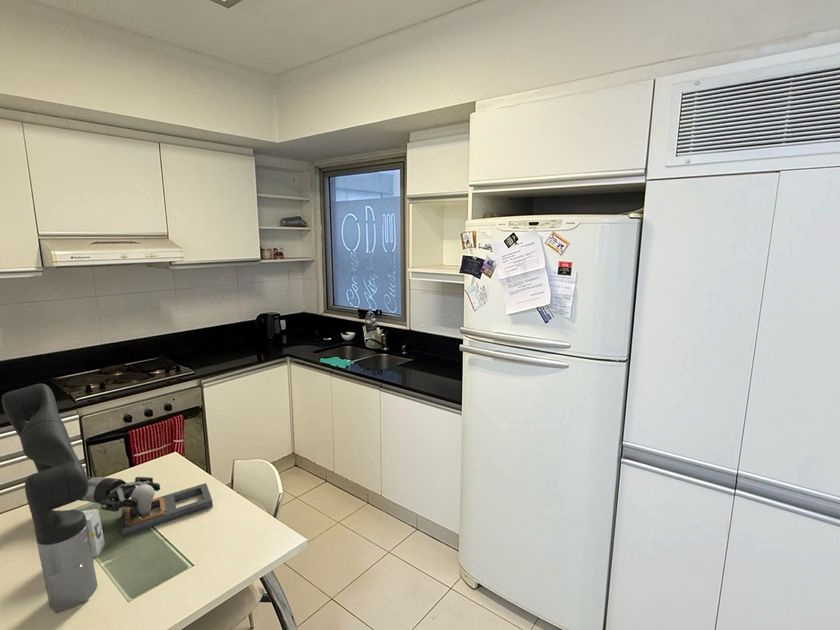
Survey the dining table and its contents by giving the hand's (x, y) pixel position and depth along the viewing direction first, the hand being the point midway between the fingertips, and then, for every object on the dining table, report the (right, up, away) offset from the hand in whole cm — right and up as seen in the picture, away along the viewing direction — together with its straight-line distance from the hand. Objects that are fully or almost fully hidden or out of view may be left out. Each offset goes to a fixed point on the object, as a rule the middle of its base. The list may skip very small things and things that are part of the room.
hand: (148, 495), depth 131 cm
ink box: (-9, -11, -13) cm, 20 cm away
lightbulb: (-2, -8, +2) cm, 9 cm away
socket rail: (+3, -7, +5) cm, 9 cm away
